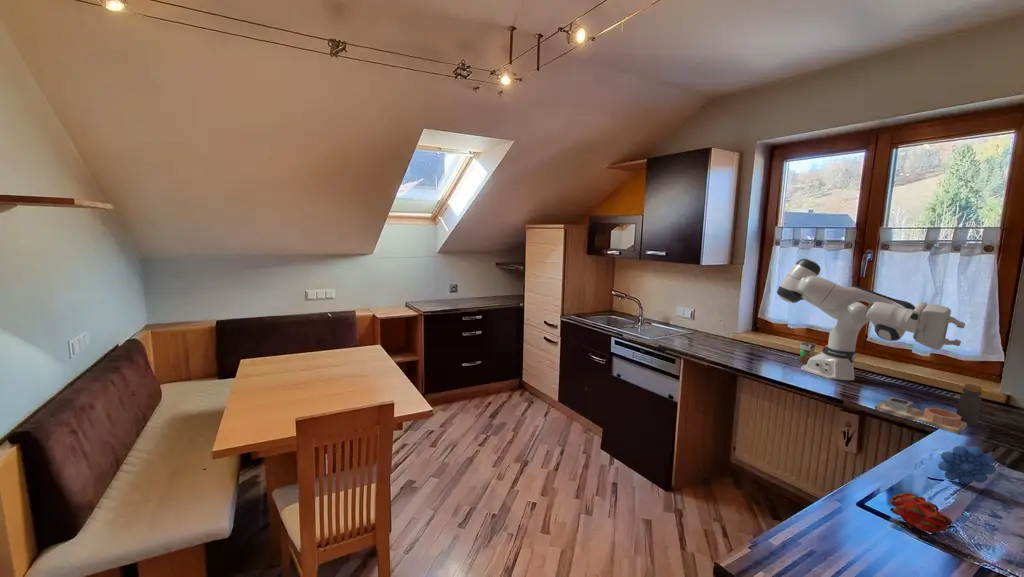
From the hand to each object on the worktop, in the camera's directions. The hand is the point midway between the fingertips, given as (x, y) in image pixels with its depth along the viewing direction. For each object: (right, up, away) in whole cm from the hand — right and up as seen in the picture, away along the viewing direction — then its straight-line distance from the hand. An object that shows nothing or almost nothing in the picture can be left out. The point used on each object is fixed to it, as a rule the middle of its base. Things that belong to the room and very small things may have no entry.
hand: (962, 334), depth 165 cm
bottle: (+9, -35, +7) cm, 37 cm away
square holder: (-10, -32, +16) cm, 37 cm away
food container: (-5, -24, +82) cm, 85 cm away
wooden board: (-7, -34, +11) cm, 36 cm away
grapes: (-36, -40, -35) cm, 64 cm away
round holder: (-3, -33, +5) cm, 34 cm away
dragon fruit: (-68, -42, -56) cm, 97 cm away
